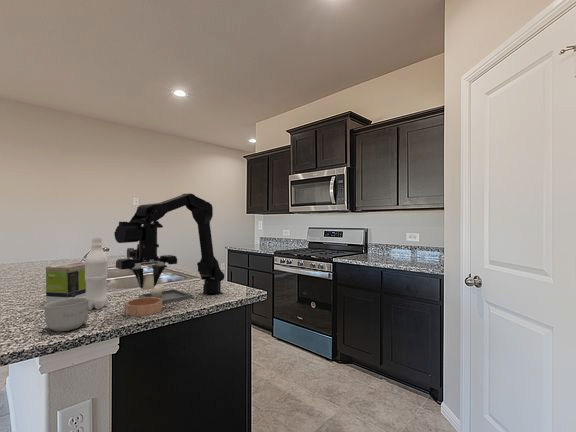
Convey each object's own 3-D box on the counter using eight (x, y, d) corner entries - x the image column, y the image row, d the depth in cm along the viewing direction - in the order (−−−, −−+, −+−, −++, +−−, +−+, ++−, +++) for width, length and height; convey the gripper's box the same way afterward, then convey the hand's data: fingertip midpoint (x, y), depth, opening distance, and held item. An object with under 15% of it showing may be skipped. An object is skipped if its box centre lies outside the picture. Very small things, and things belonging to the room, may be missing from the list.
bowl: (153, 305, 117) (153, 295, 117) (168, 311, 109) (168, 301, 109) (119, 312, 108) (120, 301, 108) (133, 319, 100) (133, 308, 100)
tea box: (79, 296, 130) (80, 260, 130) (100, 297, 128) (100, 261, 128) (44, 306, 115) (45, 265, 115) (67, 307, 113) (68, 266, 113)
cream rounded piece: (150, 286, 110) (151, 273, 110) (156, 288, 107) (156, 275, 107) (139, 288, 107) (139, 275, 107) (144, 290, 104) (144, 276, 104)
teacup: (65, 336, 86) (66, 306, 86) (33, 333, 88) (33, 304, 88) (105, 320, 99) (105, 295, 100) (76, 317, 102) (76, 293, 102)
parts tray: (174, 293, 136) (174, 289, 136) (192, 299, 126) (192, 294, 126) (138, 299, 125) (138, 295, 125) (155, 306, 115) (155, 301, 115)
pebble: (159, 295, 129) (159, 284, 129) (163, 297, 126) (163, 286, 127) (149, 297, 126) (149, 286, 126) (153, 299, 124) (154, 287, 124)
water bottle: (112, 306, 115) (112, 238, 115) (94, 311, 108) (95, 239, 108) (97, 304, 117) (98, 237, 117) (79, 309, 110) (80, 238, 111)
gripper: (163, 239, 119) (163, 280, 119) (110, 241, 106) (109, 287, 106) (178, 240, 112) (177, 284, 112) (122, 243, 98) (121, 293, 98)
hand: (147, 287), depth 107 cm, fingers closed on cream rounded piece, 4 cm apart
